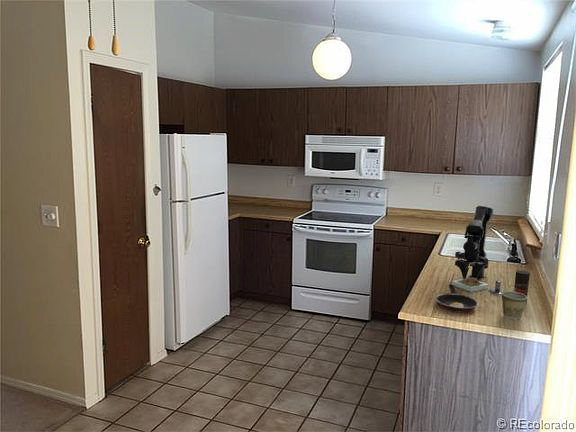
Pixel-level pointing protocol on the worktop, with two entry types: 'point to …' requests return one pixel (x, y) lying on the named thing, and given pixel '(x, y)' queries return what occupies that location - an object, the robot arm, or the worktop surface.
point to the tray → (469, 288)
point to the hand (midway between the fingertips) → (470, 277)
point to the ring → (471, 281)
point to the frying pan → (456, 301)
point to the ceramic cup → (513, 304)
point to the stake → (496, 289)
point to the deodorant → (522, 282)
